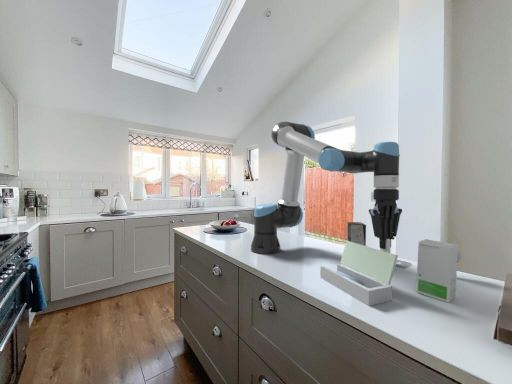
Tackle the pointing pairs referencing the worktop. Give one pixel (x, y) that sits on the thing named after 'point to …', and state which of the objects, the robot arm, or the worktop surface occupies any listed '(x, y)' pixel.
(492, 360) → the worktop surface
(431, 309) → the worktop surface
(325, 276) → the white u-shaped channel
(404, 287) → the worktop surface
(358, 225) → the coffee box
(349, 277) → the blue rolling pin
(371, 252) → the cover
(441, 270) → the skincare box
